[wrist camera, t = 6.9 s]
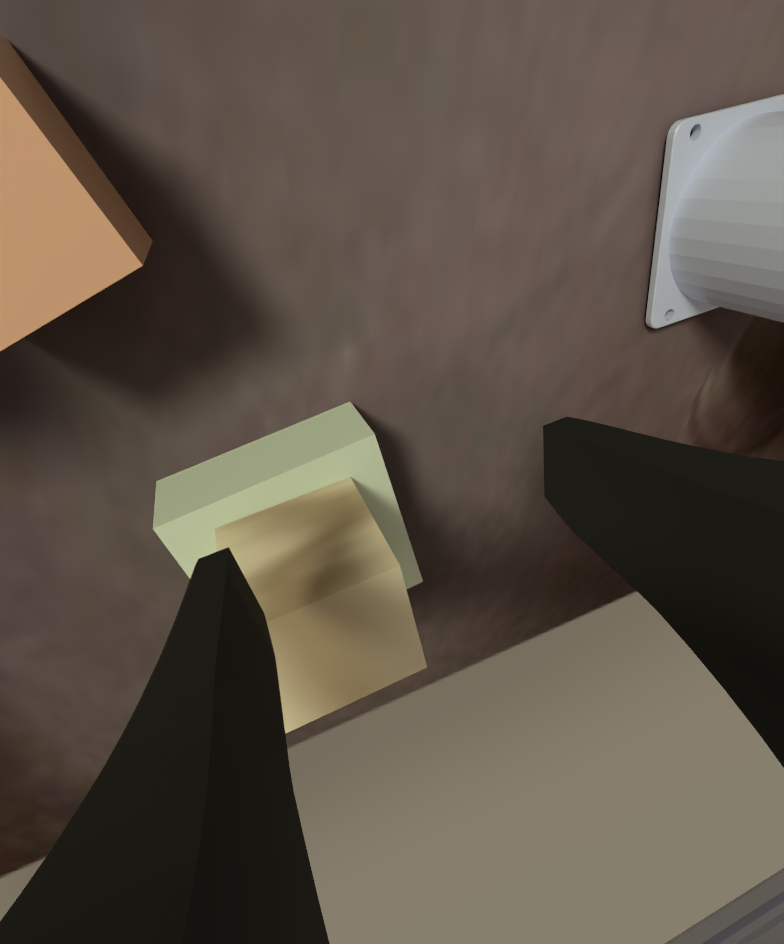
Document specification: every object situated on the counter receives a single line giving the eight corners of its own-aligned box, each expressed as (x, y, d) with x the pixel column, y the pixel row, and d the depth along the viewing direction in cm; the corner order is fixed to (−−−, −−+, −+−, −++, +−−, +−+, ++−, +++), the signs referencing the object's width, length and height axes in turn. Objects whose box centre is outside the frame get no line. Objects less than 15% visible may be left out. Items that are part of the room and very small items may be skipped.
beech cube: (350, 476, 18) (400, 565, 14) (378, 571, 21) (427, 667, 17) (214, 528, 17) (225, 639, 13) (264, 619, 20) (285, 733, 16)
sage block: (347, 397, 20) (374, 433, 17) (395, 535, 25) (422, 581, 22) (156, 476, 19) (152, 529, 16) (244, 605, 24) (253, 663, 21)
